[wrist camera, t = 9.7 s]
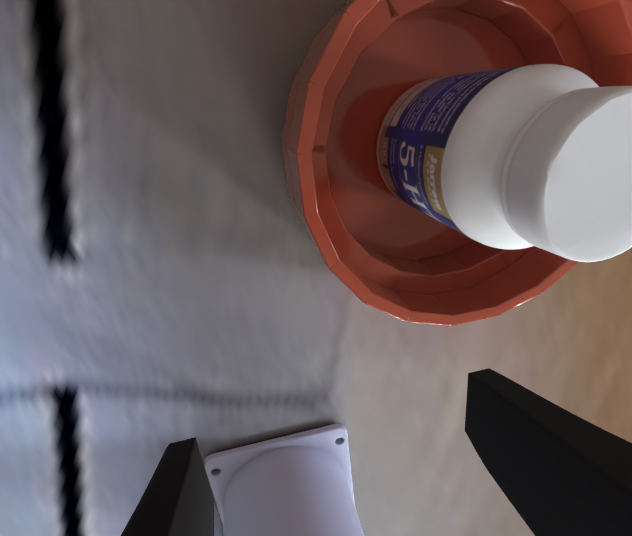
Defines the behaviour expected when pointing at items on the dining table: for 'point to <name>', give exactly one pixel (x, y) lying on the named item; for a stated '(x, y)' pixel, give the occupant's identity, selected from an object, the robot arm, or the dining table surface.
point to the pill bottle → (516, 158)
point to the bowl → (364, 125)
